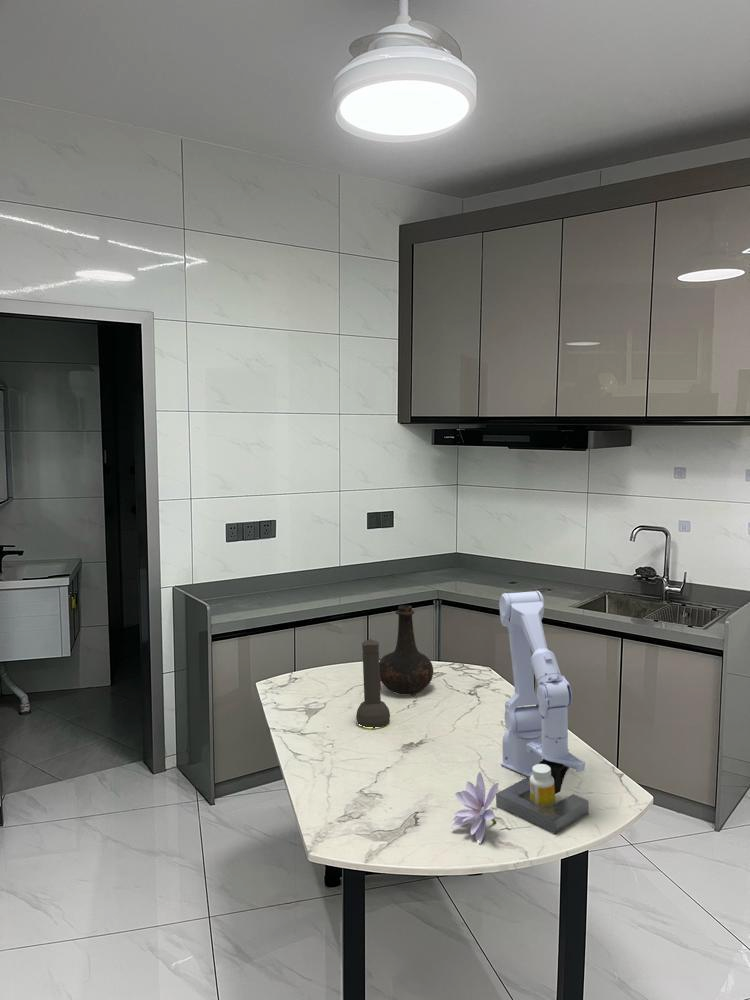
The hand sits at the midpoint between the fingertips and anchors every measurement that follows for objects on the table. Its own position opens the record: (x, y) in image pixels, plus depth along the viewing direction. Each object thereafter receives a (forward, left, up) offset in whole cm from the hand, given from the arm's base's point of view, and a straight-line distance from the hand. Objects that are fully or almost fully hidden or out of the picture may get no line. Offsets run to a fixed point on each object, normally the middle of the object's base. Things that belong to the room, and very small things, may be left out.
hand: (555, 791), depth 169 cm
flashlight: (-64, 0, -3) cm, 64 cm away
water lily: (-5, -21, -3) cm, 22 cm away
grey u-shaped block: (0, -5, -2) cm, 6 cm away
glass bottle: (-77, +25, -3) cm, 81 cm away
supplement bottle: (0, -5, -2) cm, 5 cm away
